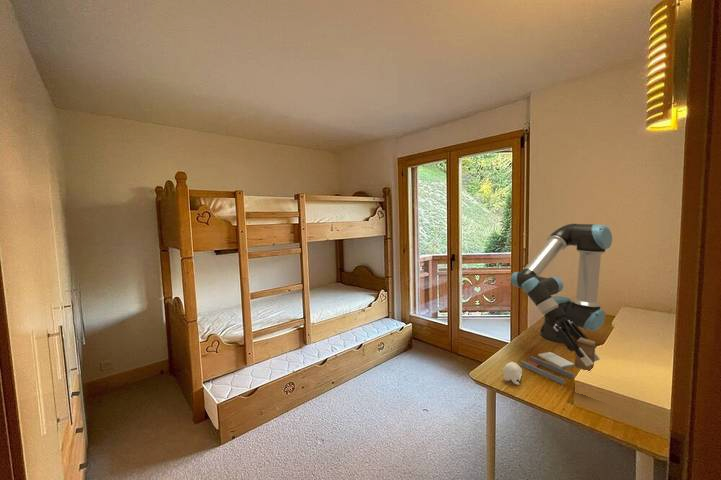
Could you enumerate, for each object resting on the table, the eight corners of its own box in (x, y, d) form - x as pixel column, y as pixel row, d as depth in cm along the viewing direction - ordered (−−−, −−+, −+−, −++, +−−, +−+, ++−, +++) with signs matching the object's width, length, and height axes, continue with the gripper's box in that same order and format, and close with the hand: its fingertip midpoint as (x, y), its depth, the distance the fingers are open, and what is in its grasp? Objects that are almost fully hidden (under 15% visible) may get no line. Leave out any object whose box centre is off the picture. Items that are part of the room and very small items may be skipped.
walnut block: (578, 362, 122) (580, 337, 121) (593, 367, 118) (595, 341, 117) (574, 366, 119) (576, 340, 118) (589, 372, 115) (591, 345, 114)
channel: (531, 359, 142) (531, 355, 141) (573, 378, 126) (574, 373, 126) (520, 365, 137) (520, 361, 136) (562, 384, 121) (563, 380, 121)
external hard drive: (561, 370, 134) (537, 356, 145) (574, 367, 136) (550, 354, 148) (561, 366, 133) (538, 353, 145) (575, 363, 136) (550, 351, 148)
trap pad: (530, 361, 140) (530, 360, 140) (539, 365, 137) (539, 364, 136) (523, 364, 137) (523, 363, 137) (532, 368, 134) (532, 367, 134)
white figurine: (502, 362, 123) (511, 354, 132) (500, 381, 123) (510, 373, 132) (518, 367, 119) (527, 359, 127) (517, 388, 119) (525, 378, 127)
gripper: (555, 310, 135) (595, 359, 123) (533, 318, 125) (574, 373, 113) (569, 302, 130) (612, 352, 118) (546, 310, 120) (591, 366, 108)
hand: (593, 362), depth 115 cm, fingers closed on walnut block, 6 cm apart
